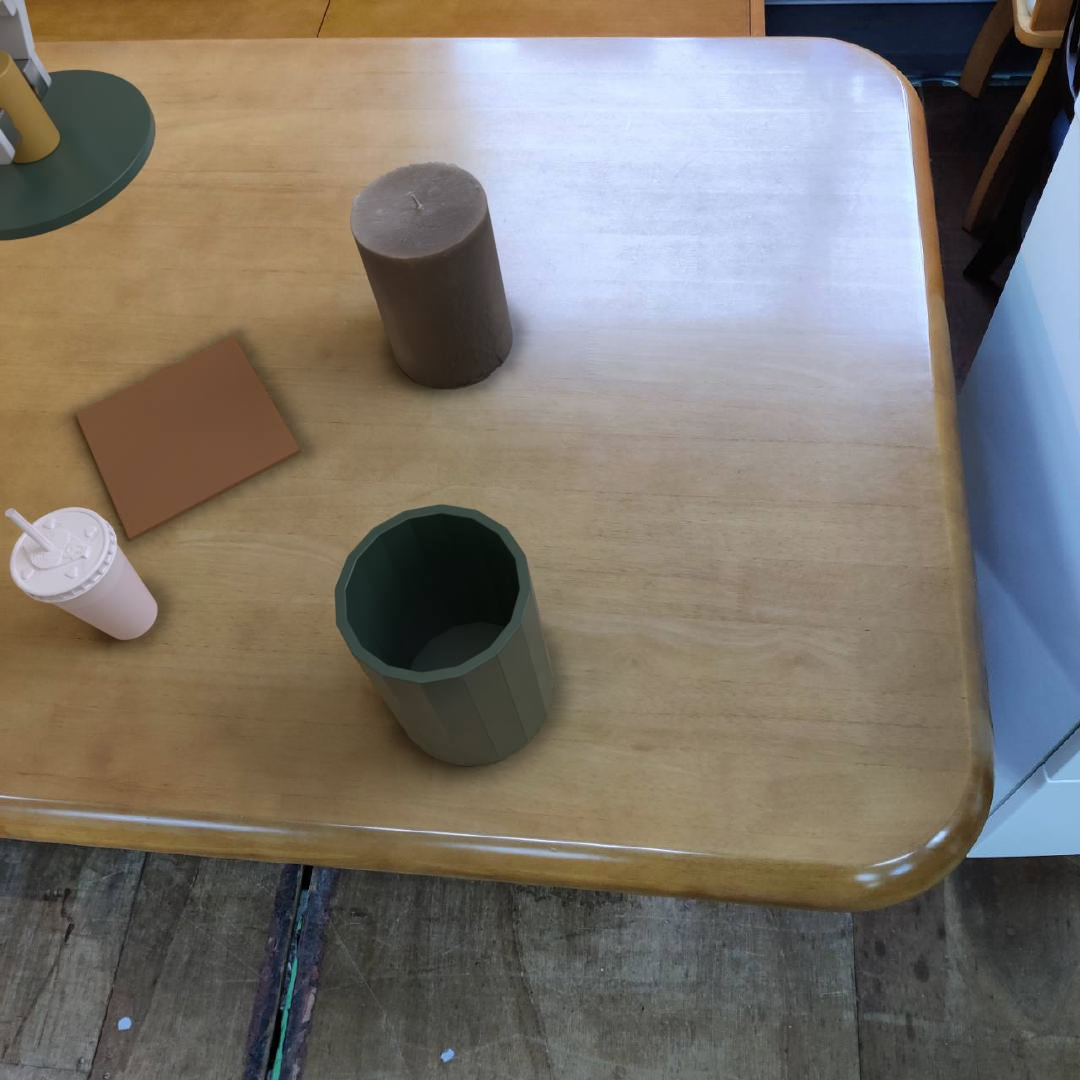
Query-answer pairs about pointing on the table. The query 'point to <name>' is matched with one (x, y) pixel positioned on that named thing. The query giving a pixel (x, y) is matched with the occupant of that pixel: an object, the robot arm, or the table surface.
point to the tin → (449, 632)
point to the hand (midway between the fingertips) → (18, 125)
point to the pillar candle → (434, 272)
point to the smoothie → (81, 571)
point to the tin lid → (69, 147)
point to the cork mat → (185, 436)
